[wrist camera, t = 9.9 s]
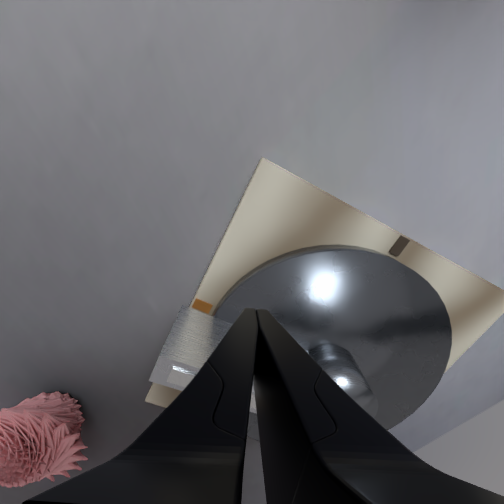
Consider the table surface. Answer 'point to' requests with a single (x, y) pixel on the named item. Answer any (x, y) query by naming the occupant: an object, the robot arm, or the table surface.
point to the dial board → (331, 233)
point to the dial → (332, 326)
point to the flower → (40, 439)
